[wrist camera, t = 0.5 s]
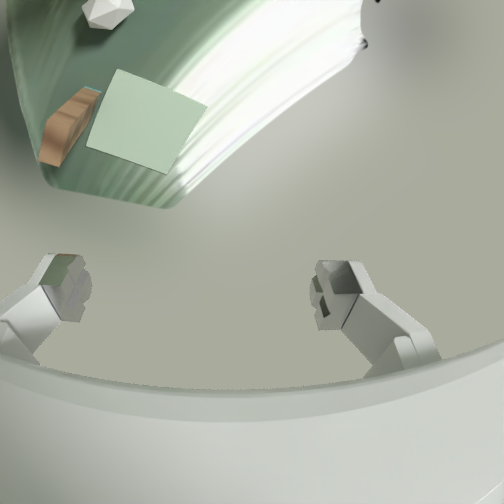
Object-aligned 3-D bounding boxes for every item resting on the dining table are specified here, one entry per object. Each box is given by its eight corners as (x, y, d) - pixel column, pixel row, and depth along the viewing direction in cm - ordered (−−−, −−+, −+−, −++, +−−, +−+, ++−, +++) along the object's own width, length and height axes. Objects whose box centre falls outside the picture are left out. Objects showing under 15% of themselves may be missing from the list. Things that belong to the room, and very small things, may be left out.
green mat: (117, 68, 38) (117, 69, 38) (207, 106, 49) (207, 106, 49) (86, 145, 48) (85, 145, 48) (166, 173, 59) (166, 174, 58)
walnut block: (84, 86, 38) (46, 120, 27) (101, 91, 40) (69, 127, 29) (73, 116, 42) (38, 160, 31) (89, 121, 44) (59, 167, 33)
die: (102, -15, 24) (64, 8, 21) (139, -26, 23) (100, -5, 20) (113, 16, 32) (79, 42, 29) (149, 10, 30) (114, 35, 28)
